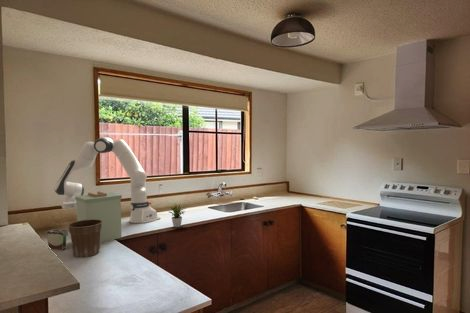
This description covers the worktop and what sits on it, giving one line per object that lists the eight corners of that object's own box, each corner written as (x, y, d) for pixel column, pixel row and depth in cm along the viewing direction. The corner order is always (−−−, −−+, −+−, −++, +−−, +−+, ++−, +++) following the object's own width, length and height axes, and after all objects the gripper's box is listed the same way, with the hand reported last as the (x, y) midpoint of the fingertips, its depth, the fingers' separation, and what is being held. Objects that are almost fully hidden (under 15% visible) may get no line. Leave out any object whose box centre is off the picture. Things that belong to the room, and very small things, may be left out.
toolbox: (111, 232, 199) (110, 190, 198) (122, 237, 187) (121, 192, 186) (76, 239, 185) (75, 193, 184) (86, 245, 173) (84, 197, 172)
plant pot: (61, 258, 153) (60, 226, 152) (81, 248, 169) (80, 218, 168) (91, 260, 151) (90, 227, 150) (109, 249, 167) (108, 219, 166)
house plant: (182, 229, 203) (182, 205, 203) (163, 229, 206) (162, 204, 205) (190, 224, 217) (189, 201, 217) (171, 223, 220) (171, 201, 219)
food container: (73, 247, 171) (73, 229, 170) (64, 250, 165) (64, 232, 164) (55, 245, 174) (55, 227, 174) (46, 249, 168) (45, 230, 168)
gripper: (58, 200, 209) (65, 202, 199) (90, 196, 223) (97, 199, 213) (59, 209, 209) (65, 212, 199) (90, 205, 223) (97, 208, 213)
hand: (82, 205), depth 206 cm, fingers closed on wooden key, 3 cm apart
